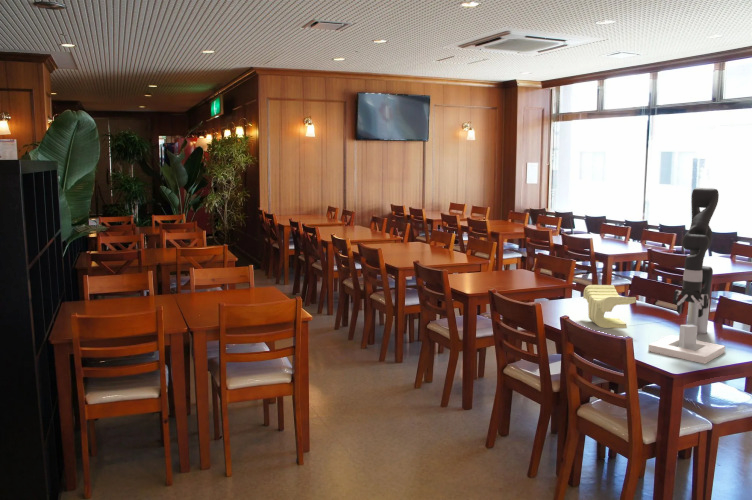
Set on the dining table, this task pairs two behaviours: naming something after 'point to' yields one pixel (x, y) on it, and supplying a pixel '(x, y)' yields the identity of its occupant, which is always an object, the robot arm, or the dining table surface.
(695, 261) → the robot arm
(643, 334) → the dining table surface
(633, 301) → the slatted curved stool
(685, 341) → the skincare box
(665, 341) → the white square frame
